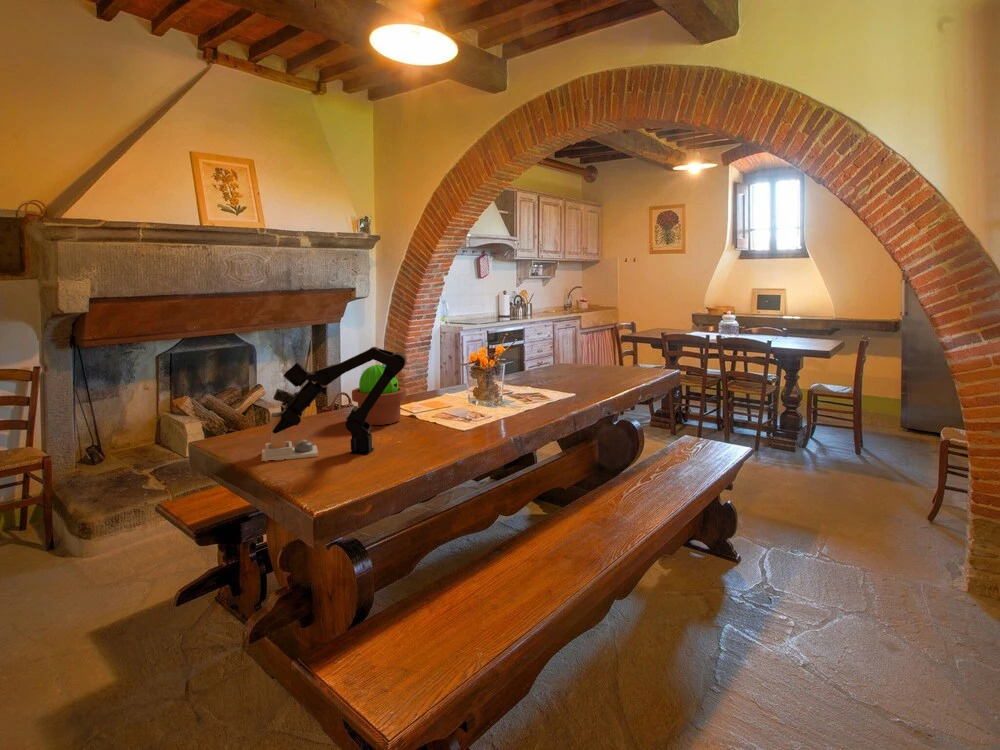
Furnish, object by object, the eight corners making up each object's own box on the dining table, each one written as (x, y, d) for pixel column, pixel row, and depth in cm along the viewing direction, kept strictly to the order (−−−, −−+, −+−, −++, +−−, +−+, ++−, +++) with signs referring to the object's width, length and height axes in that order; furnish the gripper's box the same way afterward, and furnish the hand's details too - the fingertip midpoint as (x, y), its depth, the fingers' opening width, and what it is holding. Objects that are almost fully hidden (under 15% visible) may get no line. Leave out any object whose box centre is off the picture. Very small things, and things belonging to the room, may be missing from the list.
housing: (316, 448, 210) (315, 435, 209) (318, 456, 200) (317, 443, 200) (262, 453, 203) (261, 440, 203) (261, 461, 194) (260, 448, 193)
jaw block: (286, 450, 203) (283, 411, 201) (286, 453, 199) (284, 414, 197) (272, 451, 202) (269, 412, 199) (272, 454, 198) (269, 415, 195)
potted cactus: (343, 425, 241) (341, 366, 237) (367, 413, 262) (365, 358, 258) (393, 429, 236) (391, 368, 232) (413, 416, 257) (412, 360, 253)
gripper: (287, 376, 206) (255, 409, 204) (287, 385, 189) (253, 421, 187) (311, 396, 210) (280, 429, 208) (314, 407, 193) (280, 443, 191)
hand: (273, 430), depth 199 cm, fingers open, 7 cm apart
